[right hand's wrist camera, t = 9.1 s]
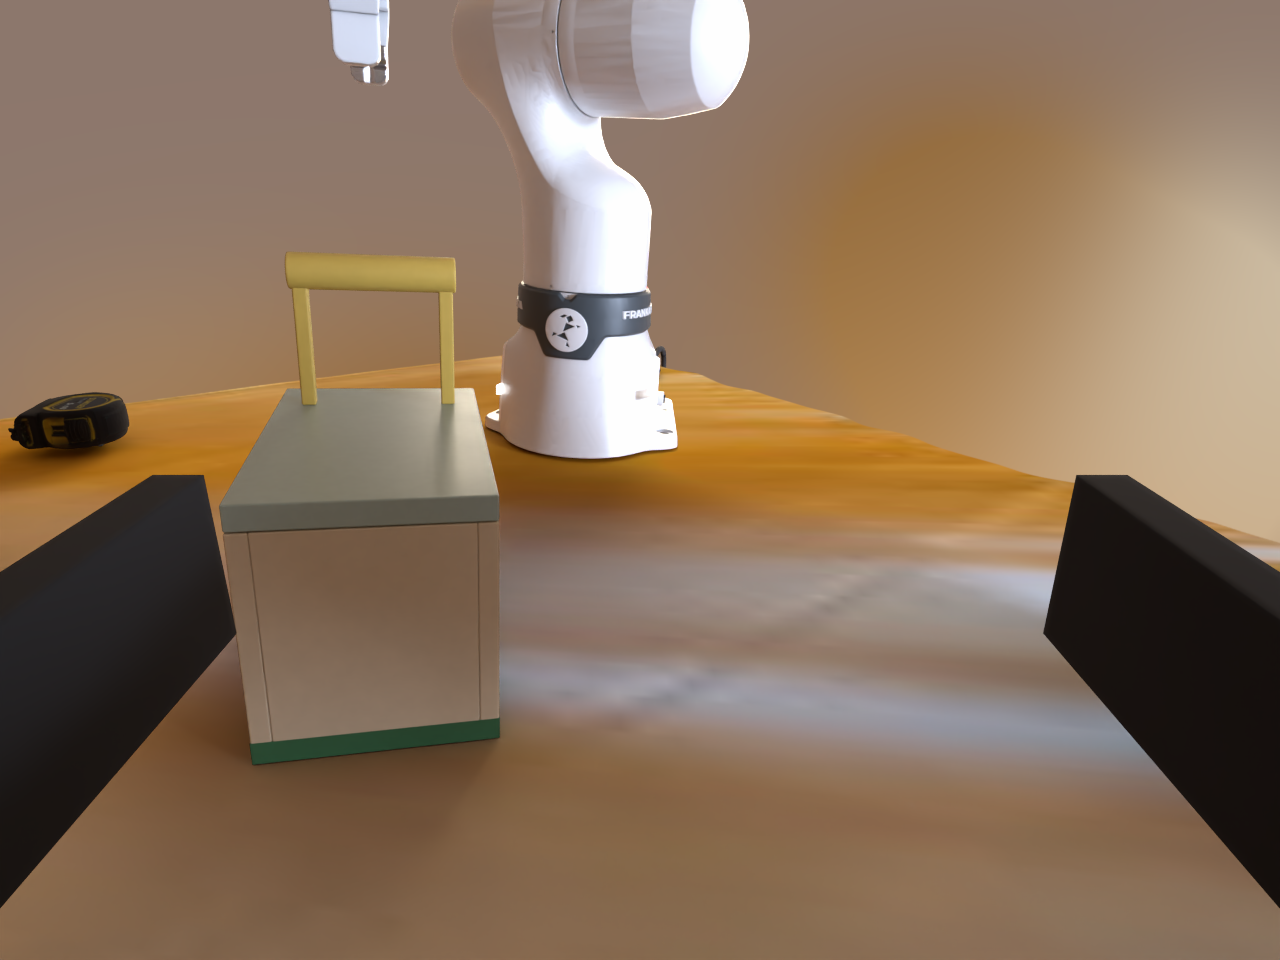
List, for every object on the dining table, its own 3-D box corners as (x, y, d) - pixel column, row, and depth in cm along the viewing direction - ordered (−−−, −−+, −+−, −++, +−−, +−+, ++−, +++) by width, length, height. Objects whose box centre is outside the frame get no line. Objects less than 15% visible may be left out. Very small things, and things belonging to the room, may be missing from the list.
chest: (303, 580, 48) (287, 411, 45) (476, 570, 51) (474, 409, 47) (252, 764, 33) (221, 534, 30) (499, 737, 36) (499, 522, 32)
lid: (288, 408, 45) (273, 244, 42) (473, 406, 48) (472, 252, 44) (221, 533, 30) (190, 291, 27) (499, 521, 32) (499, 299, 29)
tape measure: (58, 431, 69) (49, 389, 68) (145, 432, 70) (138, 390, 69) (14, 458, 63) (3, 412, 62) (111, 458, 64) (102, 412, 63)
